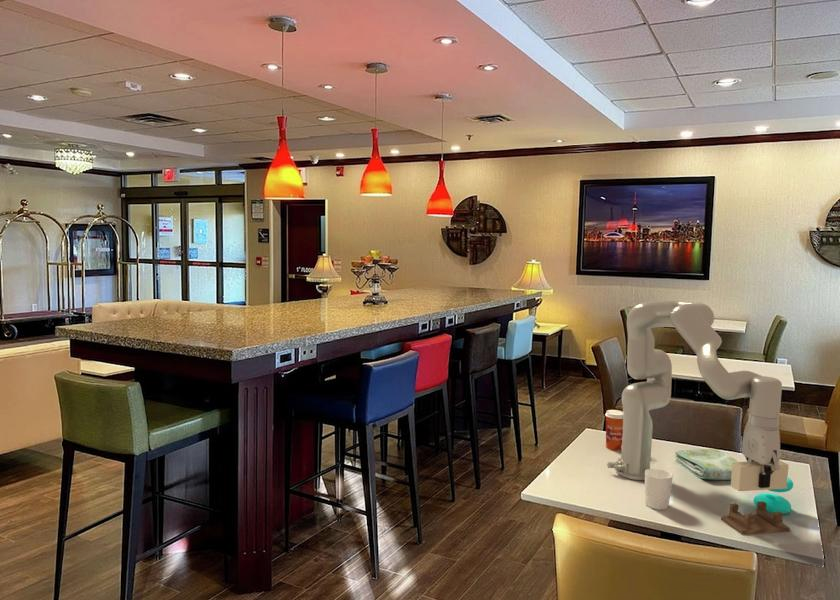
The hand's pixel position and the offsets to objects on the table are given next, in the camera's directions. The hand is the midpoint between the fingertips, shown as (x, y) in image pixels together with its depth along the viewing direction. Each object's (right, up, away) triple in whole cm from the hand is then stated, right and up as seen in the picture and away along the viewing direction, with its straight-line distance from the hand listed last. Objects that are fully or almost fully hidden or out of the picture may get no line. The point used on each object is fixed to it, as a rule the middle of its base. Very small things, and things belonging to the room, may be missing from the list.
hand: (758, 483), depth 178 cm
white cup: (-24, -11, +14) cm, 29 cm away
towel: (+7, -8, +43) cm, 45 cm away
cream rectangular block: (0, -1, 0) cm, 1 cm away
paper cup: (-22, -5, +63) cm, 67 cm away
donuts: (+11, -11, +13) cm, 20 cm away
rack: (0, -12, +2) cm, 12 cm away
